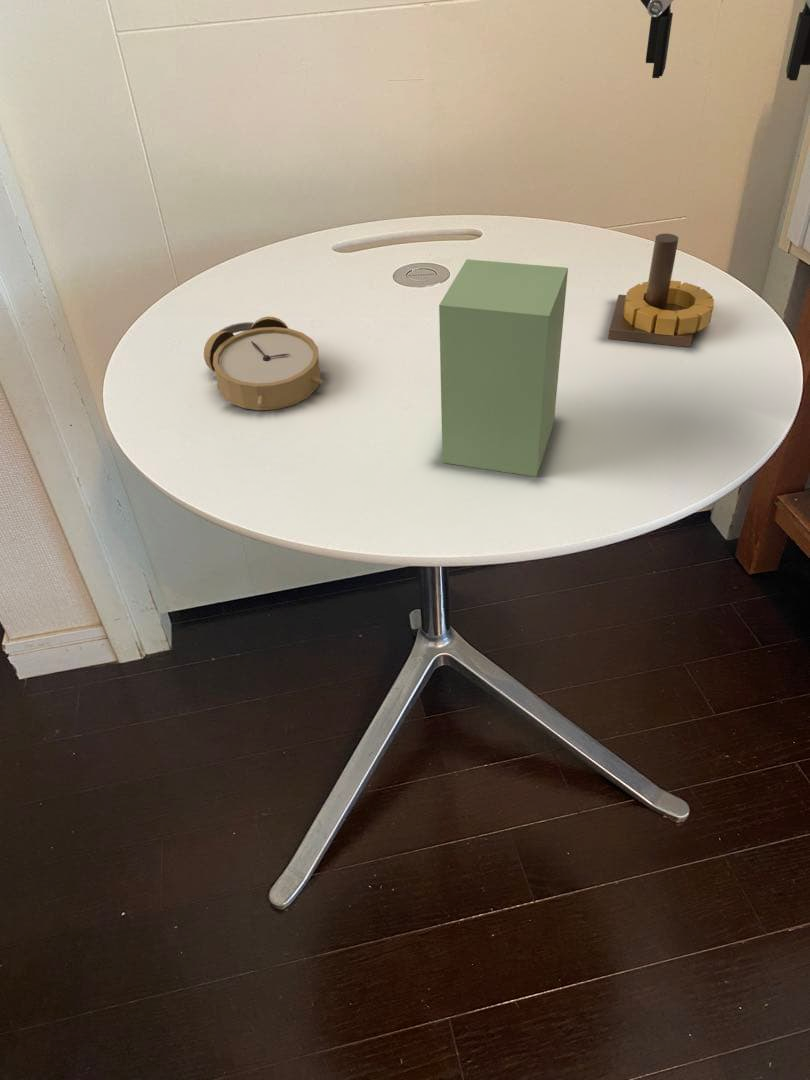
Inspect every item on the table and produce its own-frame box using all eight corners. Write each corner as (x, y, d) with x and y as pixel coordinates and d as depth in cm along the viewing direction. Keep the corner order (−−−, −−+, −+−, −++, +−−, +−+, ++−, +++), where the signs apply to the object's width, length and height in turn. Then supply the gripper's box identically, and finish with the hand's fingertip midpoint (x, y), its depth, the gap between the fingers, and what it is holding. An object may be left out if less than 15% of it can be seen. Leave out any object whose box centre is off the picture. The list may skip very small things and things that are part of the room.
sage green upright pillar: (554, 422, 80) (568, 267, 69) (536, 477, 74) (549, 315, 63) (466, 411, 82) (466, 259, 72) (442, 462, 76) (438, 304, 65)
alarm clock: (241, 401, 80) (181, 320, 88) (246, 437, 84) (188, 357, 92) (339, 365, 85) (273, 291, 92) (339, 401, 88) (277, 327, 96)
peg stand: (694, 310, 96) (712, 224, 89) (690, 347, 90) (708, 258, 83) (617, 303, 98) (628, 219, 91) (607, 338, 92) (619, 251, 85)
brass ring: (710, 299, 95) (714, 283, 94) (709, 339, 88) (713, 322, 87) (627, 293, 97) (629, 277, 96) (619, 330, 91) (622, 314, 89)
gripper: (928, -246, 50) (844, 65, 62) (644, -223, 55) (614, 62, 66) (947, -251, 45) (851, 90, 57) (631, -225, 50) (601, 85, 61)
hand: (723, 75), depth 62 cm, fingers open, 9 cm apart
